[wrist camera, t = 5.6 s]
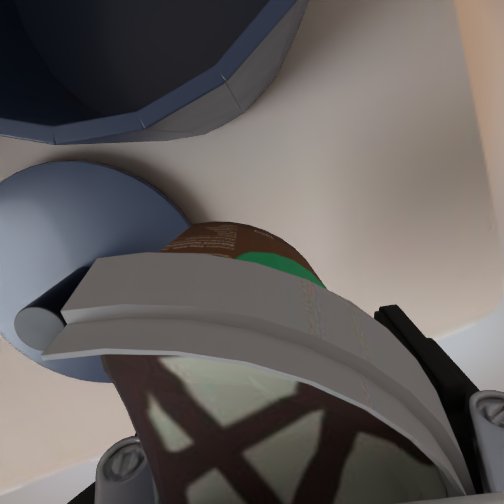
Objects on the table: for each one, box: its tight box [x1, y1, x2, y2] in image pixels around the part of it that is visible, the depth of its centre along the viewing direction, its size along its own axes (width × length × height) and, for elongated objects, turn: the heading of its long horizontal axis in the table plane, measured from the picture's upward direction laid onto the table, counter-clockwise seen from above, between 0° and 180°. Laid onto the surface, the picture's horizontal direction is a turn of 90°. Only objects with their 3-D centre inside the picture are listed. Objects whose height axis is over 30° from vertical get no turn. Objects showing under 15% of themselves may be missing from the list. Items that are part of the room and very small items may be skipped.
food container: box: [40, 222, 476, 504], centre depth 10 cm, size 12×6×10 cm, turn 12°
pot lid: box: [0, 160, 191, 383], centre depth 21 cm, size 17×17×7 cm
